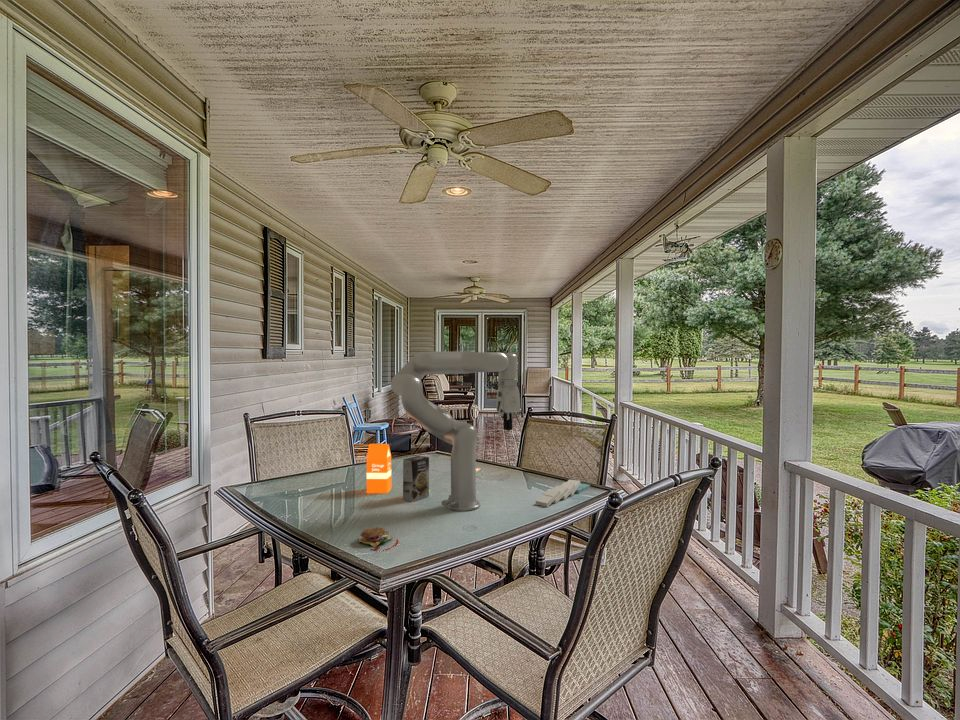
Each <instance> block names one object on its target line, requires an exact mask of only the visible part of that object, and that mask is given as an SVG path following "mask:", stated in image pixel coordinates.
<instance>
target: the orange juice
mask: <svg viewBox="0 0 960 720" xmlns="http://www.w3.org/2000/svg"><path fill="white" fill-rule="evenodd" d="M367 448H368V449H367V455H366V494H388V493H389V492H390V491H391V489H392V454H391V449H390V444H389V443H369V444H368V447H367Z"/></svg>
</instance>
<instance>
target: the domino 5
mask: <svg viewBox="0 0 960 720" xmlns="http://www.w3.org/2000/svg"><path fill="white" fill-rule="evenodd" d="M589 487H590V488H591V484H586V483H582V482H580V486H579V487H578V488H577V490H576V491H575V492H574V494H579V495H580V494H582V493H584V492H585V490H586V491H588V490H589V489H588V488H589ZM587 489H588V490H587ZM583 491H584V492H583ZM581 492H582V493H581Z"/></svg>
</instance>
